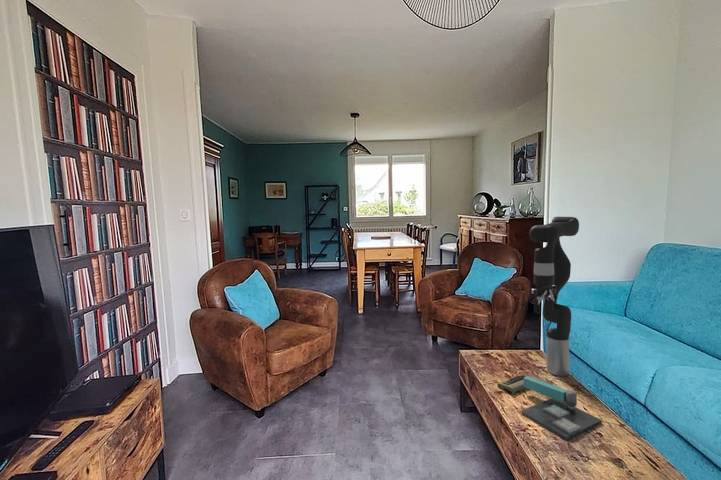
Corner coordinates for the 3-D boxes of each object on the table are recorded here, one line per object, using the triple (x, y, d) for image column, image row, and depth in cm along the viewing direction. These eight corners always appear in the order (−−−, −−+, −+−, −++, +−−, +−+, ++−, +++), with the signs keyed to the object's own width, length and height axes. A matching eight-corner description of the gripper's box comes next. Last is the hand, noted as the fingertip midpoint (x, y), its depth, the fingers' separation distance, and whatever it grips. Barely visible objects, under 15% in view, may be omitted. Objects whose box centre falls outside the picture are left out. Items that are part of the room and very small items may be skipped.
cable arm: (578, 403, 130) (578, 392, 130) (574, 407, 128) (574, 396, 128) (527, 384, 146) (527, 374, 146) (523, 387, 144) (523, 377, 144)
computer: (519, 378, 159) (519, 371, 158) (535, 385, 152) (535, 378, 151) (497, 387, 151) (497, 380, 151) (512, 395, 144) (512, 388, 144)
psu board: (554, 399, 139) (554, 393, 139) (601, 423, 123) (601, 416, 123) (521, 413, 130) (521, 407, 130) (567, 440, 114) (567, 433, 114)
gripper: (546, 270, 146) (546, 306, 147) (524, 273, 140) (524, 311, 141) (563, 272, 140) (563, 310, 141) (540, 276, 133) (540, 316, 135)
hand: (543, 311), depth 141 cm, fingers open, 8 cm apart
